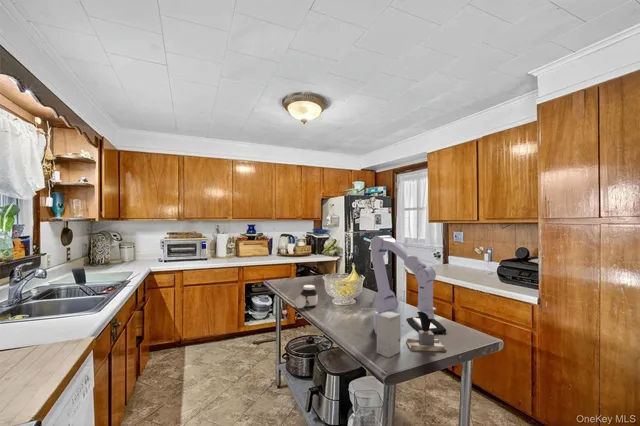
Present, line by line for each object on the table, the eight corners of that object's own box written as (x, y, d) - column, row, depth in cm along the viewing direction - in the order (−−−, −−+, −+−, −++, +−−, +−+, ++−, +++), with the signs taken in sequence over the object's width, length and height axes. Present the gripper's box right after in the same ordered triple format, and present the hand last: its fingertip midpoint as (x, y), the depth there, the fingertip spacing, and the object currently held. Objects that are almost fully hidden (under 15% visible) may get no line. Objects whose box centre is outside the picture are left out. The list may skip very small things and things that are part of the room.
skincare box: (388, 358, 108) (389, 318, 108) (375, 353, 112) (375, 314, 113) (401, 351, 114) (401, 313, 114) (388, 346, 118) (388, 309, 118)
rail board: (410, 350, 115) (410, 345, 115) (405, 342, 122) (405, 338, 122) (446, 351, 114) (446, 346, 114) (439, 343, 122) (439, 339, 122)
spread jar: (318, 304, 174) (318, 285, 174) (314, 310, 163) (314, 289, 163) (299, 303, 177) (299, 284, 177) (293, 308, 166) (293, 288, 166)
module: (421, 346, 116) (421, 332, 116) (418, 342, 120) (418, 328, 120) (434, 347, 116) (434, 332, 116) (430, 342, 120) (430, 328, 120)
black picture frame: (403, 316, 150) (430, 313, 151) (404, 321, 150) (430, 318, 151) (418, 331, 131) (448, 327, 131) (419, 337, 131) (449, 334, 131)
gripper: (442, 302, 111) (442, 338, 111) (429, 292, 126) (429, 324, 125) (423, 302, 111) (423, 337, 111) (413, 292, 126) (413, 323, 126)
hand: (425, 330), depth 118 cm, fingers closed, pressing on module
